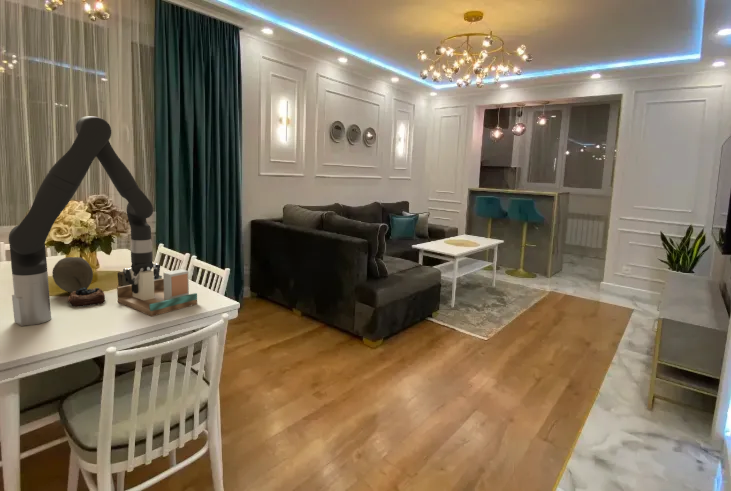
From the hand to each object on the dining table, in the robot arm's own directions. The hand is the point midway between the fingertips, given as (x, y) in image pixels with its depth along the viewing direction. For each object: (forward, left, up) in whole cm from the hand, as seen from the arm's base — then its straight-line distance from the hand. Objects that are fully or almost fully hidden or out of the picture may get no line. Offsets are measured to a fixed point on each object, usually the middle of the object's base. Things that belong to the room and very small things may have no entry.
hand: (143, 291), depth 165 cm
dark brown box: (+10, +21, -5) cm, 24 cm away
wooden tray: (+3, -5, -4) cm, 7 cm away
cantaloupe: (-12, +31, -5) cm, 34 cm away
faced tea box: (+8, -10, -2) cm, 13 cm away
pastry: (-14, +15, -5) cm, 21 cm away
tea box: (0, 0, -2) cm, 2 cm away
